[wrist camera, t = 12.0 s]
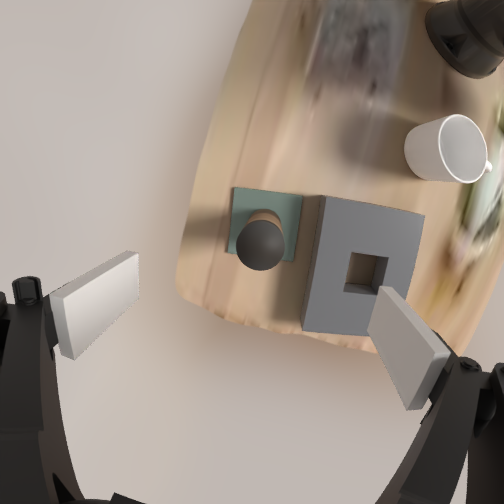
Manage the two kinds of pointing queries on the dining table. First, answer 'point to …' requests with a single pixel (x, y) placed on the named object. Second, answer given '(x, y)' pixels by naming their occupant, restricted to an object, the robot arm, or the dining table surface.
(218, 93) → the dining table surface
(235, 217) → the mat
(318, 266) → the socket block
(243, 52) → the dining table surface
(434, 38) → the robot arm
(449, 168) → the cup
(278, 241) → the plug
